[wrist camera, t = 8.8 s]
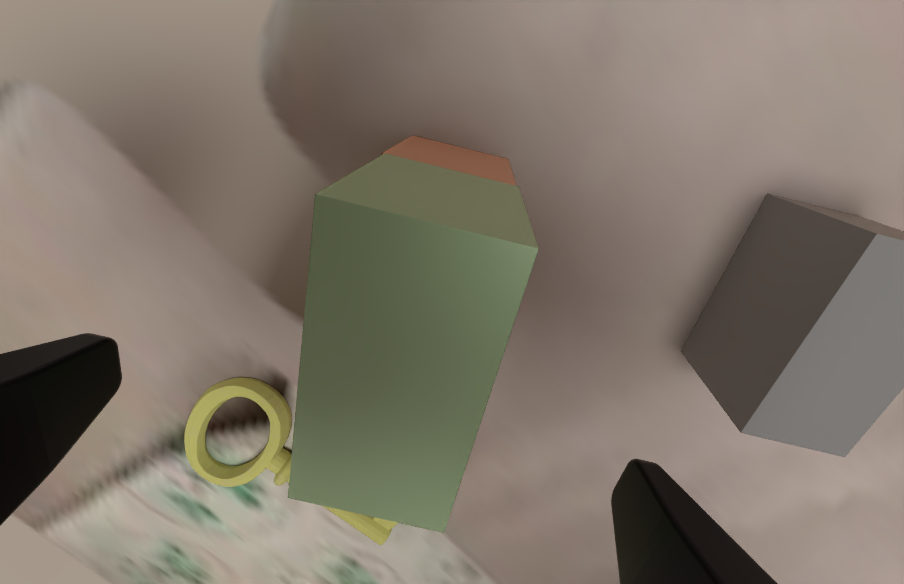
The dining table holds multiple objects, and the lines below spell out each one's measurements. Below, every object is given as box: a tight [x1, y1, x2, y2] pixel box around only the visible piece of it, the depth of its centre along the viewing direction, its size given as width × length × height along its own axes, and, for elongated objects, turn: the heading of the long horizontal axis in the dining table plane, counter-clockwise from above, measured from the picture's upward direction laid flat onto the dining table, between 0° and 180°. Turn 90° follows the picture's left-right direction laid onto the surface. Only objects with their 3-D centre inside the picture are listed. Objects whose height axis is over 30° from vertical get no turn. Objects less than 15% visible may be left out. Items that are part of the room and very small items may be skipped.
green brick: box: [288, 153, 539, 533], centre depth 11 cm, size 7×4×5 cm, turn 167°
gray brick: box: [681, 194, 904, 457], centre depth 15 cm, size 7×4×5 cm, turn 167°
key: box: [185, 377, 398, 545], centre depth 22 cm, size 7×12×2 cm, turn 72°
